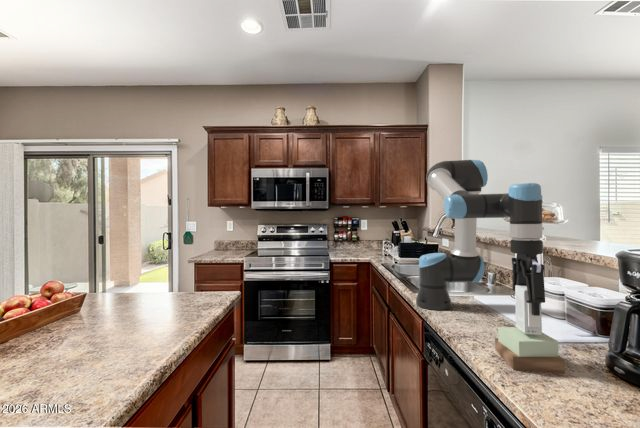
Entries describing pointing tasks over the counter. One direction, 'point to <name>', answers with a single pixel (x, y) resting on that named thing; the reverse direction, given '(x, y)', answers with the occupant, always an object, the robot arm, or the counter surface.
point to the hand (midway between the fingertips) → (528, 322)
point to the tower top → (527, 343)
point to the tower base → (530, 361)
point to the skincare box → (524, 311)
